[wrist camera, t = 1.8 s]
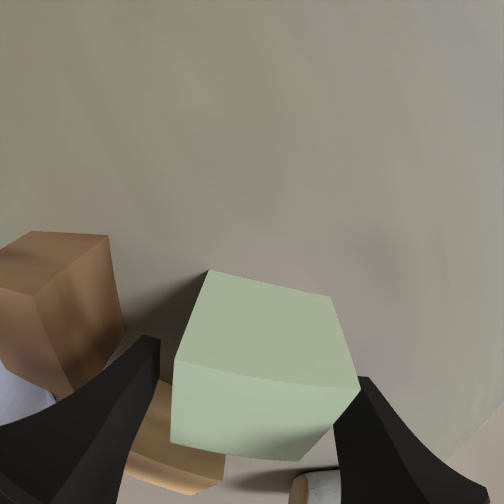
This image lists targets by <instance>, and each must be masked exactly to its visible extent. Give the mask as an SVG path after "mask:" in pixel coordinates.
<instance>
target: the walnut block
mask: <svg viewBox="0 0 504 504" xmlns="http://www.w3.org/2000/svg"><path fill="white" fill-rule="evenodd" d="M125 332H126V330H125V326H124V322H123V317H122V313H121V308H120V304H119V299H118V294H117V289H116V284H115V278H114V272H113V266H112V260H111V253H110V246H109V238H108V235H93V234H76V233H59V232H41V231H31V232H29V233H28V234H26V235H24V236H22V237H21V238H19V239H17V240H16V241H14V242H12V243H11V244H9V245H7V246H6V247H4V248H2V249H1V250H0V360H1V362H2V363H3V365H4V367H5V368H6V370H8V371H10V372H11V373H13V374H15V375H17V376H19V377H21V378H22V379H24V380H26V381H28V382H30V383H32V384H34V385H36V386H38V387H40V388H42V389H45V390H47V391H49V392H51V393H53V394H56V395H58V396H60V397H63V398H65V397H67V396H69V395H70V394H72V393H74V392H75V391H77V390H78V389H80V388H81V387H82V386H84V385H85V384H87V383H88V382H89V381H91V380H92V379H93V378H95V377H96V376H97V375H99V374H100V373H101V371H102V370H103V368H104V366H105V365H106V363H107V361H108V360H109V358H110V356H111V355H112V353H113V351H114V350H115V348H116V346H117V345H118V343H119V341H120V340H121V338H122V337H123V335H124V333H125Z"/></svg>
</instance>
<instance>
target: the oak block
mask: <svg viewBox="0 0 504 504" xmlns="http://www.w3.org/2000/svg"><path fill="white" fill-rule="evenodd" d="M172 387H173V385H170V384H168V383H166V382H164V381H162V380H159V379H158V383H157V386H156V389H155V392H154V395H153V398H152V401H151V403H150V405H149V408H148V410H147V412H146V414H145V417H144V419H143V421H142V423H141V426H140V428H139V430H138V432H137V435H136V437H135V439H134V442H133V444H132V446H131V449H130V452H129V455H128V458H127V461H126V465H125V469H124V473H126V474H128V475H131V476H133V477H136V478H138V479H141V480H143V481H146V482H149V483H151V484H154V485H157V486H160V487H163V488H166V489H169V490H173V491H176V492H179V493H183V494H186V495H190V496H191V495H193V494H195V493H198V492H200V491H202V490H205V489H207V488H209V487H211V486H214V485H216V484H218V483H220V482H222V481H223V473H224V465H225V456H226V454H222V453H216V452H211V451H206V450H201V449H197V448H192V447H188V446H184V445H180V444H176V443H172V442H170V431H171V405H172Z"/></svg>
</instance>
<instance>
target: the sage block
mask: <svg viewBox="0 0 504 504" xmlns="http://www.w3.org/2000/svg"><path fill="white" fill-rule="evenodd" d="M360 390H361V387H360V384H359V381H358V378H357V374H356V371H355V368H354V365H353V362H352V359H351V356H350V353H349V350H348V347H347V344H346V341H345V338H344V335H343V332H342V329H341V326H340V323H339V320H338V318H337V315H336V312H335V309H334V306H333V304H332V301H331V298H330V297H328V296H323V295H318V294H314V293H309V292H304V291H300V290H295V289H290V288H286V287H281V286H277V285H272V284H268V283H263V282H259V281H254V280H250V279H246V278H241V277H237V276H233V275H229V274H224V273H220V272H216V271H212V270H209V271H208V273H207V276H206V278H205V281H204V283H203V286H202V288H201V291H200V293H199V296H198V298H197V301H196V304H195V306H194V309H193V311H192V314H191V317H190V319H189V322H188V324H187V327H186V330H185V332H184V335H183V338H182V340H181V343H180V346H179V348H178V351H177V354H176V356H175V359H174V372H173V387H172V405H171V431H170V442H172V443H176V444H180V445H184V446H188V447H192V448H197V449H201V450H206V451H211V452H216V453H222V454H228V455H234V456H241V457H249V458H258V459H268V460H281V461H299V460H300V459H301V458H302V457H303V456H304V455H305V454H306V453H307V452H308V451H309V450H310V449H311V448H312V447H313V446H314V445H315V444H316V443H317V442H318V441H319V440H320V438H321V437H322V436H323V435H324V434H325V433H326V432H327V431H328V430H329V428H330V427H331V426H332V425H333V424H334V423H335V421H336V420H337V419H338V418H339V417H340V416H341V414H342V413H343V412H344V411H345V409H346V408H347V407H348V406H349V404H350V403H351V402H352V401H353V399H354V398H355V397H356V395H357V394H358V393H359V391H360Z"/></svg>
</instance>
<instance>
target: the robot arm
mask: <svg viewBox="0 0 504 504" xmlns="http://www.w3.org/2000/svg"><path fill="white" fill-rule="evenodd" d="M159 376H160V339H157V338H153V337H150V336H147V335H143V336H141V337H140V338H139V339H138V340H137V341H136V342H135V343H134V344H133V345H132V346H131V347H130V348H129V349H128V350H127V351H126V352H124V353H123V354H122V355H121V356H120V357H119V358H118V359H117V360H115V361H114V362H113V363H112V364H111V365H110V366H108V367H107V368H106V369H105V370H104V371H102V372H101V373H100V374H99V375H97V376H96V377H95V378H93V379H92V380H91V381H89V382H88V383H87V384H85V385H84V386H82V387H81V388H80V389H78V390H77V391H75V392H74V393H72V394H70V395H69V396H67V397H65V398H64V399H62V400H60V401H59V402H57V403H56V401H55V399H54V397H53V395H52V393H51V392H49V391H47V390H45V389H42V388H40V387H38V386H36V385H34V384H32V383H30V382H28V381H26V380H24V379H22V378H21V377H19V376H17V375H15V374H13V373H11V372H10V371H8V370H6V368H5V367H4V365H3V363H2V362H1V360H0V504H116V501H117V497H118V492H119V488H120V484H121V480H122V476H123V472H124V469H125V465H126V461H127V458H128V455H129V452H130V449H131V446H132V444H133V442H134V439H135V437H136V435H137V432H138V430H139V428H140V426H141V423H142V421H143V419H144V417H145V414H146V412H147V410H148V408H149V405H150V403H151V401H152V398H153V395H154V392H155V389H156V386H157V383H158V379H159ZM357 378H358V381H359V384H360V387H361V390H360V391H359V393H358V394H357V395H356V397H355V398H354V399H353V401H352V402H351V403H350V404H349V406H348V407H347V408H346V409H345V411H344V412H343V413H342V414H341V416H340V417H339V418H338V419H337V420H336V421H335V423H334V424H333V430H334V437H335V443H336V450H337V456H338V462H339V469H340V477H341V504H490V499H489V496H488V492H487V489H486V487H484V486H482V485H480V484H477V483H475V482H473V481H471V480H469V479H467V478H466V477H464V476H462V475H461V474H459V473H457V472H456V471H454V470H453V469H451V468H450V467H449V466H447V465H446V464H445V463H444V462H442V461H441V460H440V459H439V458H437V457H436V456H435V455H434V454H433V453H432V452H431V451H430V450H429V449H428V448H427V447H426V446H424V445H423V444H422V443H421V442H420V440H419V439H418V438H417V437H416V436H415V435H414V434H413V433H412V432H411V430H410V429H409V428H408V427H407V426H406V424H405V423H404V422H403V421H402V420H401V418H400V417H399V416H398V415H397V413H396V412H395V411H394V409H393V408H392V407H391V405H390V404H389V403H388V401H387V400H386V399H385V397H384V396H383V395H382V394H381V392H380V391H379V390H378V388H377V387H376V386H375V384H374V383H373V382H372V381H371V380H370V378H369V377H362V376H357Z"/></svg>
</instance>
